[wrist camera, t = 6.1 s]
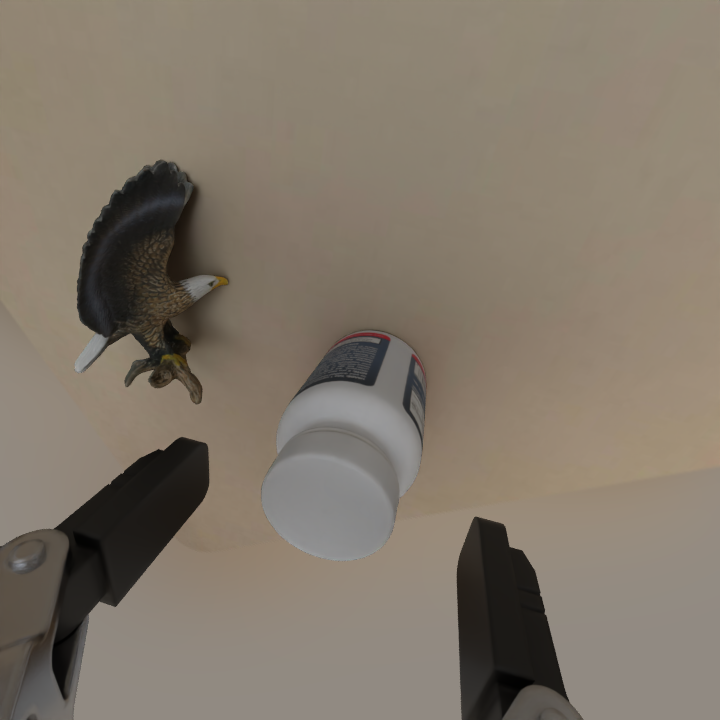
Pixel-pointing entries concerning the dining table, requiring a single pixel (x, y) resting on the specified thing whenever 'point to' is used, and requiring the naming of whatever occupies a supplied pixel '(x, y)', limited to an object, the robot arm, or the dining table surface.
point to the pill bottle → (348, 448)
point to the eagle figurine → (140, 277)
